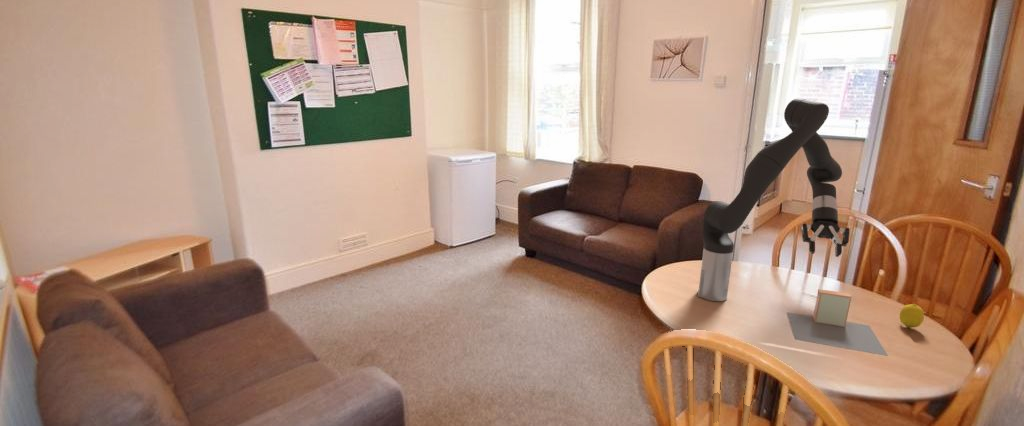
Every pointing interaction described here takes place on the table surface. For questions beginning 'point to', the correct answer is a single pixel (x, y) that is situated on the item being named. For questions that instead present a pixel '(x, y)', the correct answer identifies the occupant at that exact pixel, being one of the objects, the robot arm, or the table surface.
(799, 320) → the mat
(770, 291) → the table surface
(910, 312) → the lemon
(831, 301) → the tile
